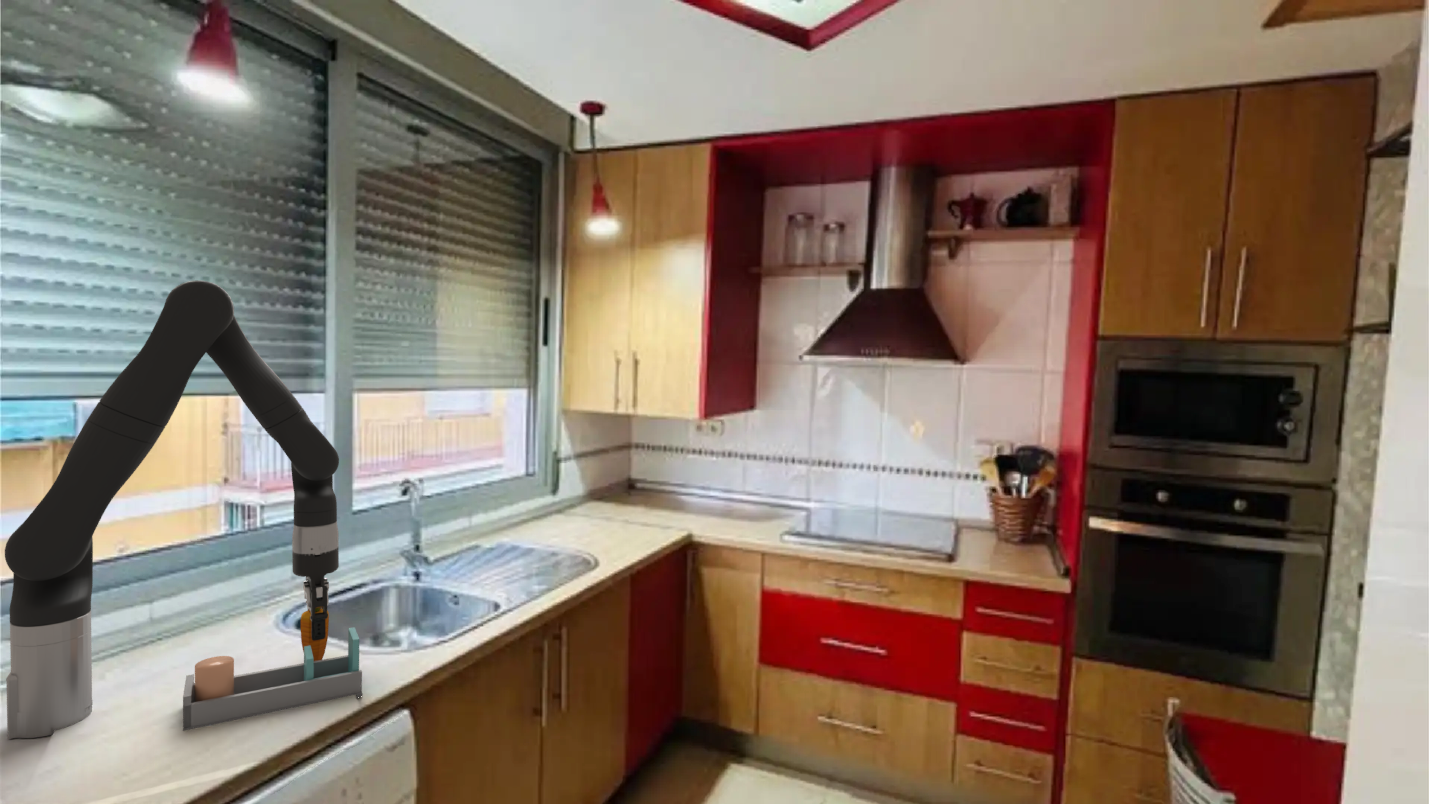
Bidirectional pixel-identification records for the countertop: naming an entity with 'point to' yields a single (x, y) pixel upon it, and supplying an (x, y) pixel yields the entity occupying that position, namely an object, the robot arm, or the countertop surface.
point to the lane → (272, 692)
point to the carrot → (306, 639)
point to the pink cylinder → (214, 678)
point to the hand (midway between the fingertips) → (316, 631)
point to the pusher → (352, 656)
